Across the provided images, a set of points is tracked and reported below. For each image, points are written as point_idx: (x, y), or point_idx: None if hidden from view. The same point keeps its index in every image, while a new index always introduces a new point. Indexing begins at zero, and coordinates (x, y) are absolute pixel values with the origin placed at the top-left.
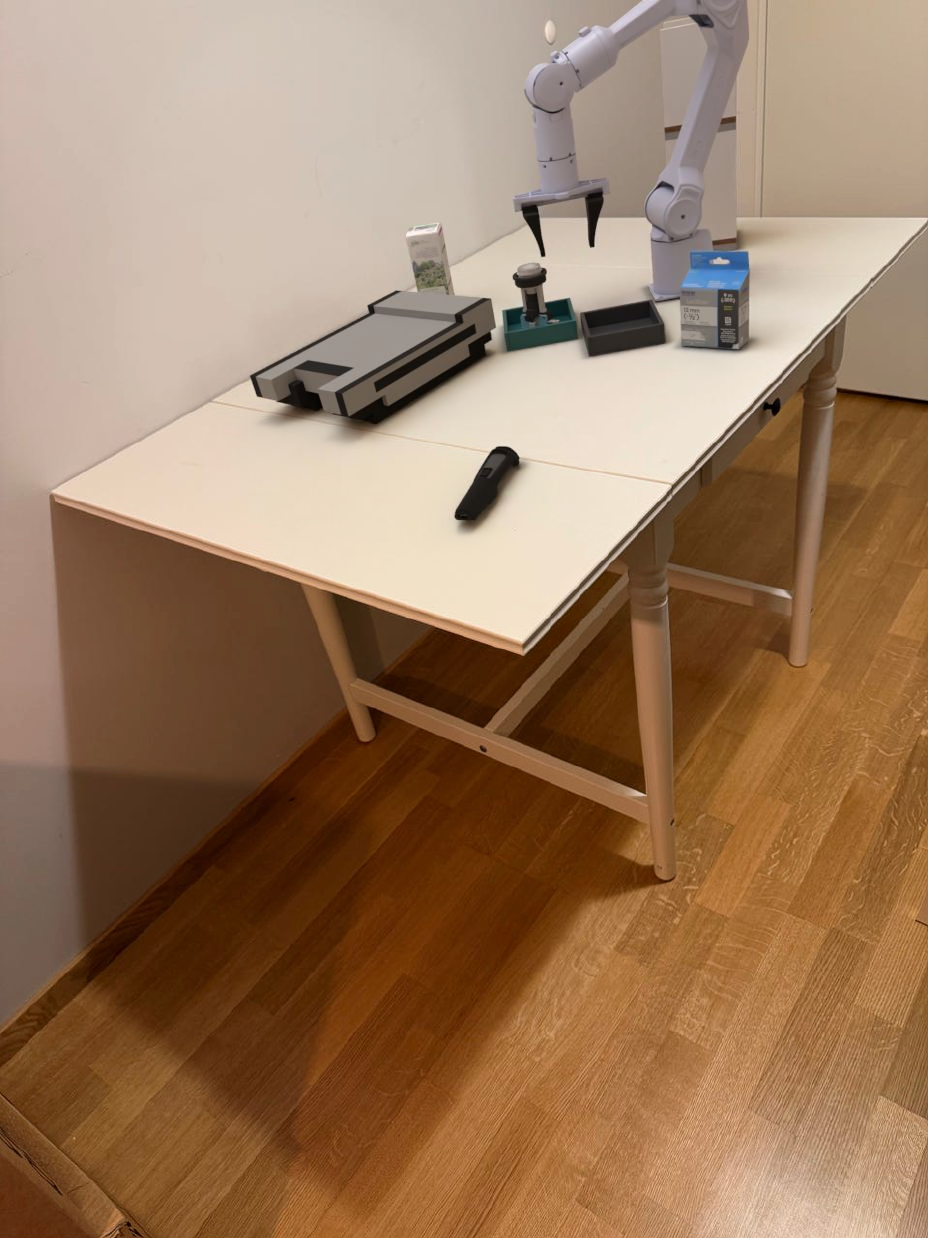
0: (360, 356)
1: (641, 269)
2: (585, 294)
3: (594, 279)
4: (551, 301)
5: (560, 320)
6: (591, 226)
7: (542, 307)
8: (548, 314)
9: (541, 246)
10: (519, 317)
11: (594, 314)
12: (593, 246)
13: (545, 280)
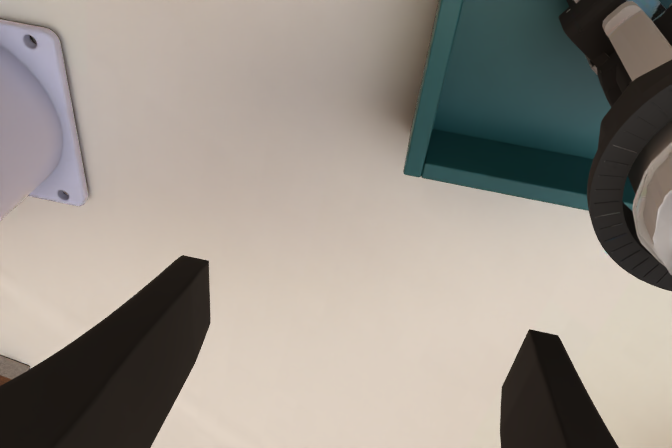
0: None
1: None
2: (308, 288)
3: (256, 373)
4: (497, 184)
5: (486, 78)
6: (114, 351)
7: (644, 14)
8: (597, 2)
9: (568, 387)
10: None
11: None
12: (184, 258)
13: (628, 88)
